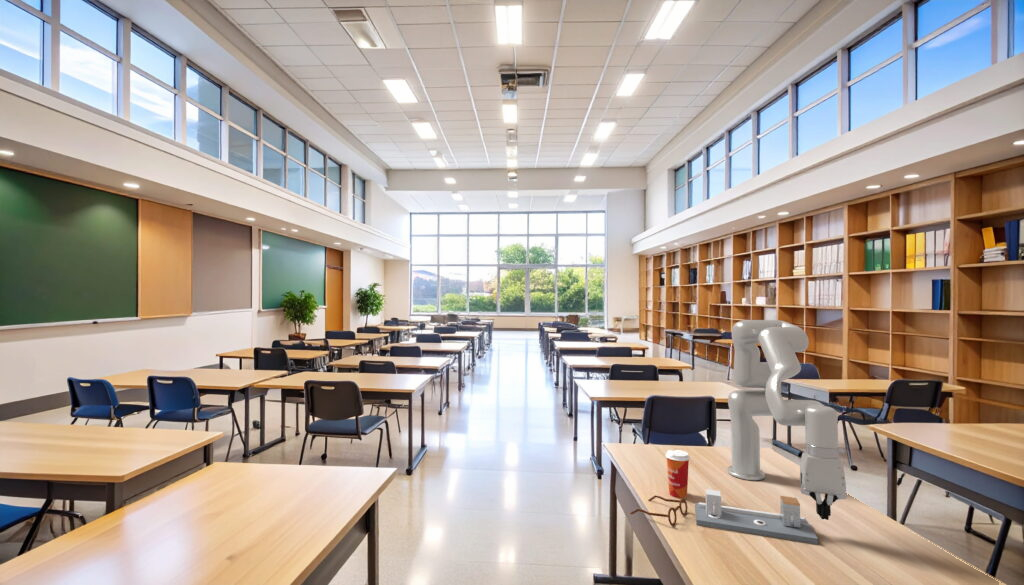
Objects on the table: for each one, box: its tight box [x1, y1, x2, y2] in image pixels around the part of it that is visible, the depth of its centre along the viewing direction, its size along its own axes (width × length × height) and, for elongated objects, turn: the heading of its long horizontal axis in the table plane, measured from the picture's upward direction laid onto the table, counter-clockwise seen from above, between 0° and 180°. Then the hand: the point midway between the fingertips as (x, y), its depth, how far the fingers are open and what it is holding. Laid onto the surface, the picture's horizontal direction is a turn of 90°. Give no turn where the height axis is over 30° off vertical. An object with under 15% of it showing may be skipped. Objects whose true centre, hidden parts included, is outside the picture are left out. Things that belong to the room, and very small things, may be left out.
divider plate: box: [694, 488, 819, 545], centre depth 129 cm, size 12×30×8 cm, turn 69°
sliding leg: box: [779, 495, 801, 528], centre depth 125 cm, size 5×4×7 cm
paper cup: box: [665, 449, 691, 499], centre depth 149 cm, size 8×8×14 cm
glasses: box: [629, 495, 688, 527], centre depth 136 cm, size 13×13×5 cm
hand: (823, 517), depth 123 cm, fingers closed
